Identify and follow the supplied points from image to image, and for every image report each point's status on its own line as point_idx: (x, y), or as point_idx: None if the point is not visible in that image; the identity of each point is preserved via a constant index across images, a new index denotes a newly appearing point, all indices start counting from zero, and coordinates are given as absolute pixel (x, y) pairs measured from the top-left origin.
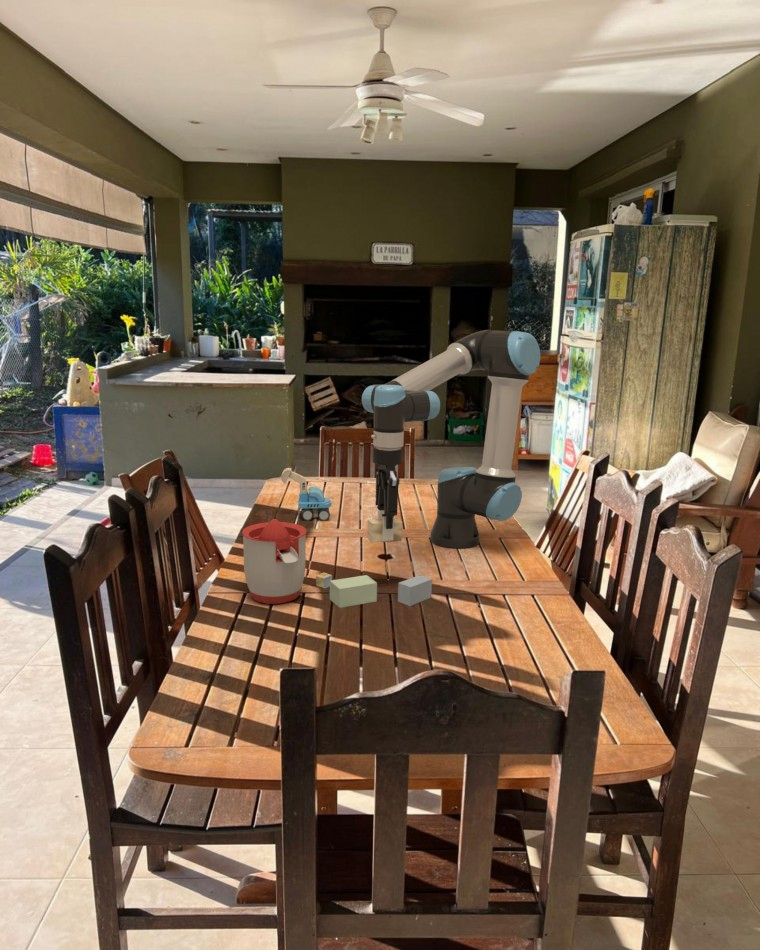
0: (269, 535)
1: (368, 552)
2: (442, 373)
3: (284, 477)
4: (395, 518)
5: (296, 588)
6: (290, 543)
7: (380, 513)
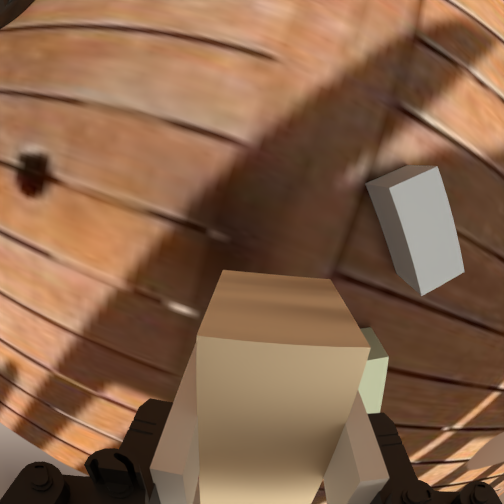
0: None
1: (3, 213)
2: None
3: None
4: (206, 363)
5: None
6: None
7: (191, 497)
